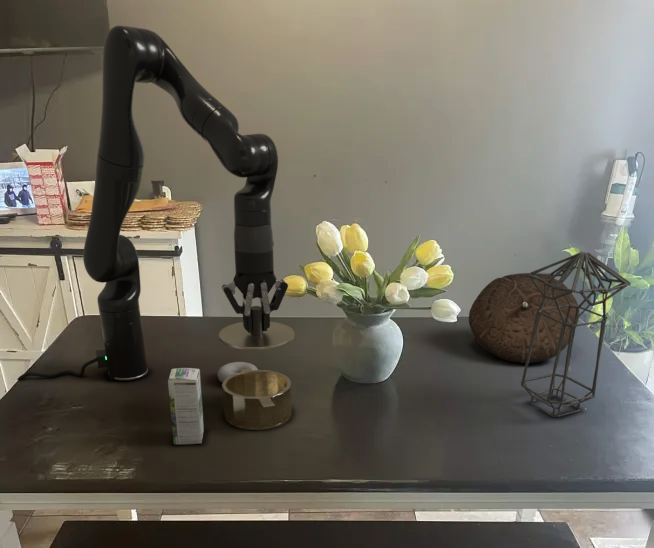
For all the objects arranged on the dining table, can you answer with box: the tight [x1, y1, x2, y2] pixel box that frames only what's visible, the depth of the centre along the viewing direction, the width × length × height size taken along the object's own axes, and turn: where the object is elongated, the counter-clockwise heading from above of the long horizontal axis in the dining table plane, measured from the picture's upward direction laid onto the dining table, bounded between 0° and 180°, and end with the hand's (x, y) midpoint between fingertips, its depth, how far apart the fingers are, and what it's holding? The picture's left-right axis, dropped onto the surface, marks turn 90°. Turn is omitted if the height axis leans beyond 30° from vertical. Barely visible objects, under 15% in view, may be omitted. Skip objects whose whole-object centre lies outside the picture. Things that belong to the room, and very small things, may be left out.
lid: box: [218, 305, 296, 351], centre depth 139 cm, size 16×16×7 cm
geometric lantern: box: [520, 250, 632, 418], centre depth 145 cm, size 16×16×35 cm
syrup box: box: [167, 367, 205, 446], centre depth 136 cm, size 6×6×14 cm
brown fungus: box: [468, 272, 580, 364], centre depth 178 cm, size 28×23×25 cm
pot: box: [221, 368, 293, 431], centre depth 147 cm, size 15×20×8 cm
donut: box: [217, 361, 259, 384], centre depth 164 cm, size 10×4×10 cm
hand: (256, 330), depth 140 cm, fingers closed on lid, 2 cm apart
